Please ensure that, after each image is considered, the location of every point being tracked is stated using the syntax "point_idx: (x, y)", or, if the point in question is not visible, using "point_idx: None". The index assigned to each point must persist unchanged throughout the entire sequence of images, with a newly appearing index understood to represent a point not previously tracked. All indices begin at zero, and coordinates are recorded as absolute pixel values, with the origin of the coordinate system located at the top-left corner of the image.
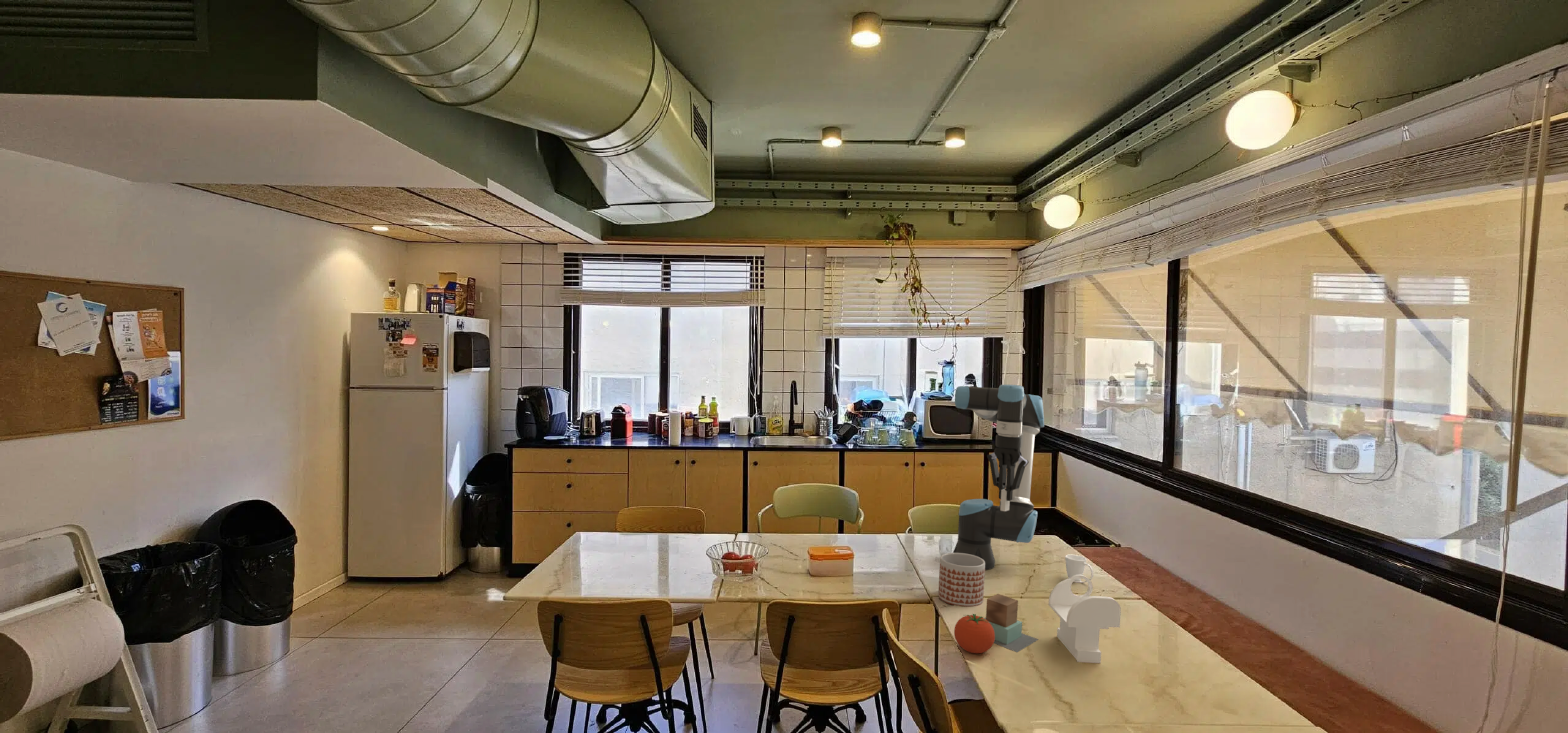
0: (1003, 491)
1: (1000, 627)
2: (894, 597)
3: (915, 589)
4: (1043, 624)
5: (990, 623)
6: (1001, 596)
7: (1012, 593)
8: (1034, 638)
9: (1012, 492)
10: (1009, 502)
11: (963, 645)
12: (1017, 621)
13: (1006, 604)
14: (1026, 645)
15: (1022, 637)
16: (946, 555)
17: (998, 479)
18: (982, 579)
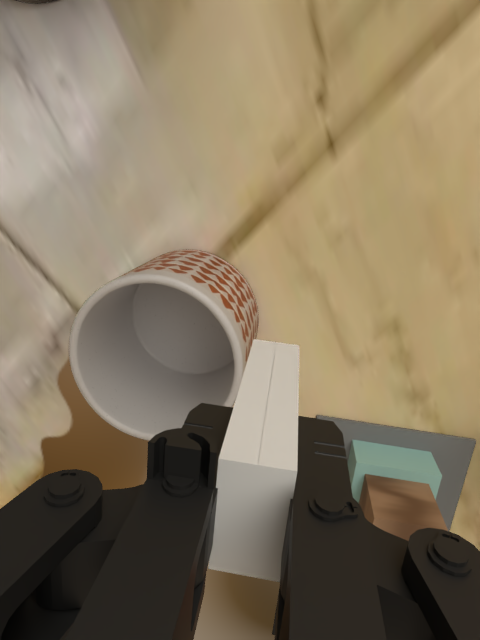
0: (243, 557)
1: None
2: (67, 428)
3: (65, 339)
4: (459, 324)
5: None
6: (392, 532)
7: (294, 132)
8: (464, 443)
9: (351, 493)
10: (298, 379)
11: None
12: (429, 480)
13: None
14: (457, 492)
15: (435, 456)
16: (78, 344)
17: (27, 574)
18: (249, 346)
